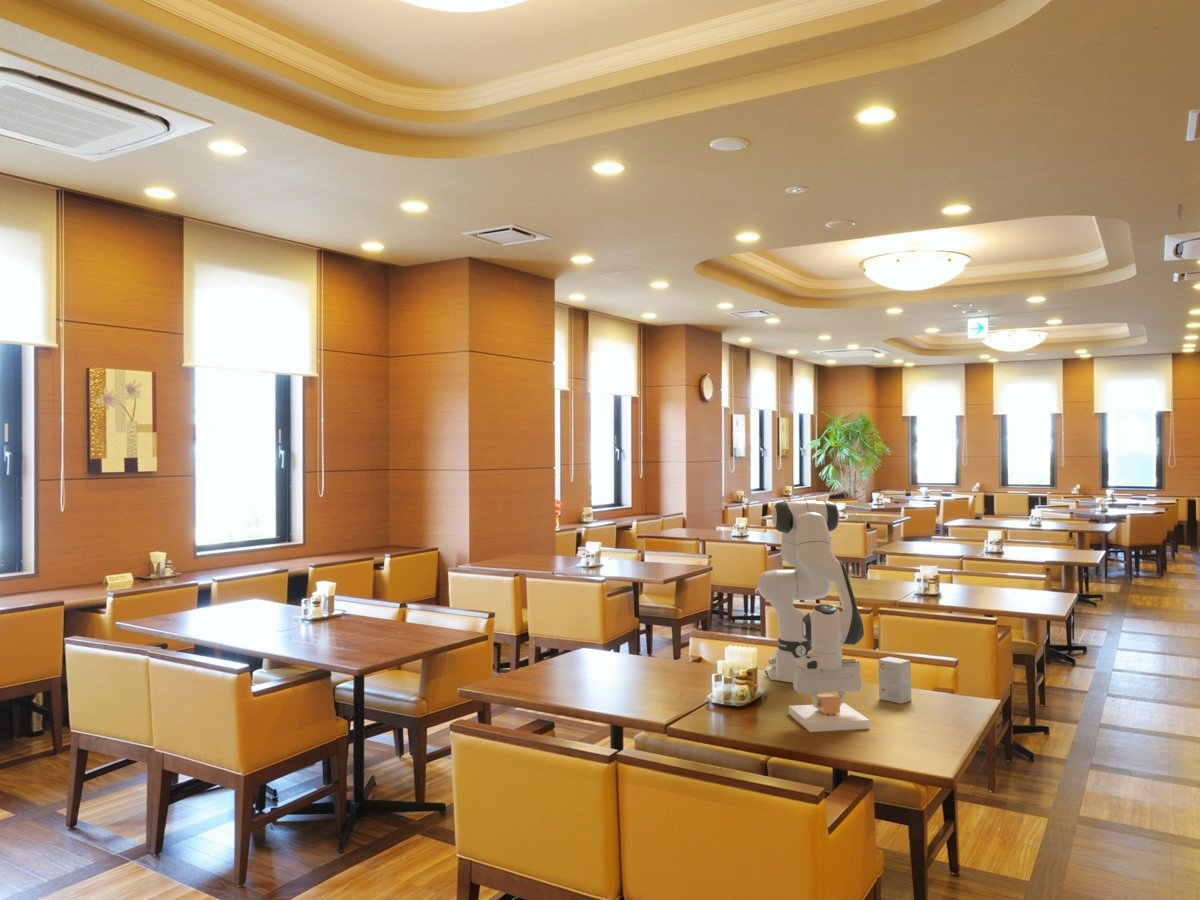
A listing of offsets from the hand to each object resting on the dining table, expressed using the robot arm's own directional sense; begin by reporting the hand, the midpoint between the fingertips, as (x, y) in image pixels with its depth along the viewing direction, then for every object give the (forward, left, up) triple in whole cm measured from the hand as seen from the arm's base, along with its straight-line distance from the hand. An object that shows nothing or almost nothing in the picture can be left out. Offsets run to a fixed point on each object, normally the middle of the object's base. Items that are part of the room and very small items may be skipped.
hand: (827, 706), depth 259 cm
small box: (-18, +30, -5) cm, 35 cm away
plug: (0, 0, -3) cm, 3 cm away
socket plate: (0, 0, -4) cm, 4 cm away
